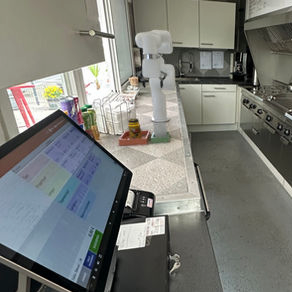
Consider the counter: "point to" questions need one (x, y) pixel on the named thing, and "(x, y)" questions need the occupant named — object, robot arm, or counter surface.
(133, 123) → the condiment
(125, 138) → the terracotta bin
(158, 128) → the grey rectangular block
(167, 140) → the green bin
